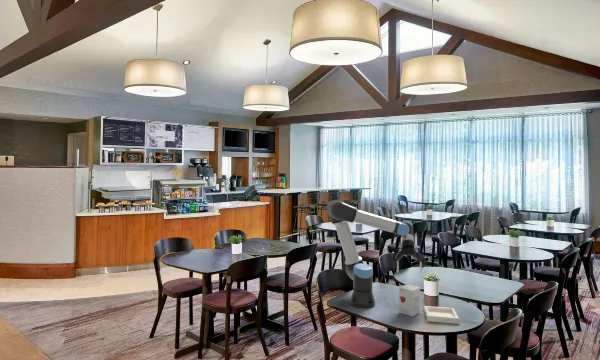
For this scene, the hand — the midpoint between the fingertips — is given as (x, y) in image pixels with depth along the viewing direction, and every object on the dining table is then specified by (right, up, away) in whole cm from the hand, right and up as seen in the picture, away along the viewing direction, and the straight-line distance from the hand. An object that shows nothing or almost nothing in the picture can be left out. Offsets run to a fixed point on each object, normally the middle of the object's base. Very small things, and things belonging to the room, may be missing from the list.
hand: (409, 272), depth 236 cm
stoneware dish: (+13, -21, -16) cm, 30 cm away
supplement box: (-3, -21, -10) cm, 24 cm away
